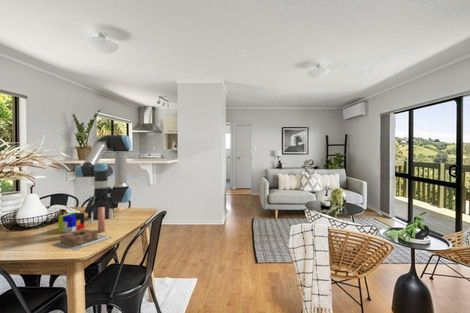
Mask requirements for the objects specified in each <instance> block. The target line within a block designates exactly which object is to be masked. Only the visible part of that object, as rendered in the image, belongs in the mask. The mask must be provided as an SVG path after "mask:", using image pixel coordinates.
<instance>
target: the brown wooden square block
mask: <svg viewBox="0 0 470 313" xmlns="http://www.w3.org/2000/svg"><path fill="white" fill-rule="evenodd" d="M97 234H98V231H95V230H94V231H93V230H91V229H86V228H83V229H80V230H77V231H73V232H66V233H64V234H59V236H60V237H59V238H60V241H59V242H60V243H61V244H65V245H68V246H72V247H77V246H80V245H83V244H86V243H89V242H92V241H95V240H98V239H97Z"/></svg>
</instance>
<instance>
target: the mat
mask: <svg viewBox="0 0 470 313" xmlns="http://www.w3.org/2000/svg"><path fill="white" fill-rule="evenodd" d="M105 237H109V238H106V239H103V240H100V241H97V242H94V243H91V244H88V245H85V246H81V245H80V246H77V247H72V246H68V245H65V244H61V243H60V241H59V242H54V243H53V245H54V246H59V247H62V248H66V249H69V250H72V251H78V250H80V249H83V248H86V247H90V246H92V245H95V244H98V243H101V242H104V241H107V240H110V239H112V238H113V237H112V236H109V235H108V236H107V235H104V234H98V233H97V239H98V240H99V239H102V238H105ZM95 241H96V240H95ZM92 242H93V241H92ZM89 243H90V242H89ZM86 244H87V243H86ZM83 245H84V244H83Z"/></svg>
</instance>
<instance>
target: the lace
mask: <svg viewBox="0 0 470 313" xmlns="http://www.w3.org/2000/svg"><path fill="white" fill-rule="evenodd" d="M109 237H110V236H108V237H105V238H102V239H99V240H96V241H93V242H90V243H87V244H84V245H81V246H85V245H88V244H91V243H94V242H97V241H100V240H103V239H106V238H109Z"/></svg>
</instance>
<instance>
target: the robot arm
mask: <svg viewBox="0 0 470 313" xmlns="http://www.w3.org/2000/svg"><path fill="white" fill-rule="evenodd" d="M131 141H132V140H131V139H130V137H129V135H125V134H106V135H103V136H102V137H99V138H98V139H96V141H95V142H94V144H93V146H92V147H93V148H92V149H91V151H90V153H89V154H88V155H87V157H86V159H85V160H84V162H83V163H82V165H77V166H75V169H74V174H75V176H76V177H77V178H94V182H93V183H94V184H93V185H94V191H93V196H89V198H88V203H87V204H86V207H85V209H84V212H83V213H84V214H85V213H86V214H87V219H88V224H90V225H93V224H94V220H98V207H105V219H111V220H113V218H114V212H115V211H114V209H115V208H116V207H117V204H124V203H128V202H130V198H131V196H132V195H131V194H132V188H131V187H129V185H128V182H127V180H128V176H127V173H128V172H127V171H128V170H127V166H128V162H127V161H128V159H127V157H128V153H130V150H131V149H132V142H131ZM109 150H112V153H113V154H114V167H113V166H111V165H108V163H106V162H100V159H101V157H102V156H103V154H104V153H105V152H107V151H109ZM99 162H100V163H99ZM113 174H114V184H113V186H112V187H111V186H109V184H108V182H109V177H111V176H112V175H113Z"/></svg>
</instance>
